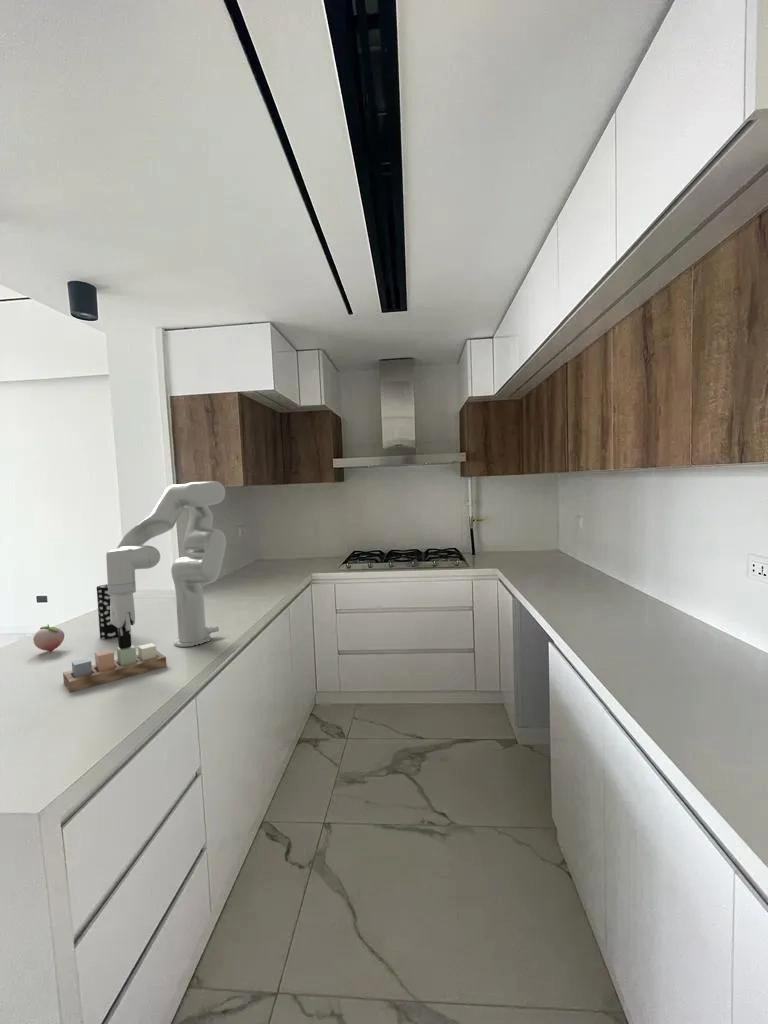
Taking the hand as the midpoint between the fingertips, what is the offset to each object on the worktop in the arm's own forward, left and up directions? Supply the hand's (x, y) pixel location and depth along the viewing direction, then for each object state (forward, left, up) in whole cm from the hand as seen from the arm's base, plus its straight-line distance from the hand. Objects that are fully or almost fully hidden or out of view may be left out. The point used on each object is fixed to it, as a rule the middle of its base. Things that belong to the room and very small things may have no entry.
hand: (125, 647), depth 147 cm
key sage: (0, 0, -5) cm, 5 cm away
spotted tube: (-7, -47, -8) cm, 48 cm away
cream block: (-6, 0, -6) cm, 9 cm away
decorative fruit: (+14, -43, -8) cm, 46 cm away
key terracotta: (+6, 0, -5) cm, 8 cm away
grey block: (+12, 0, -6) cm, 13 cm away
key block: (+3, 0, -8) cm, 8 cm away
